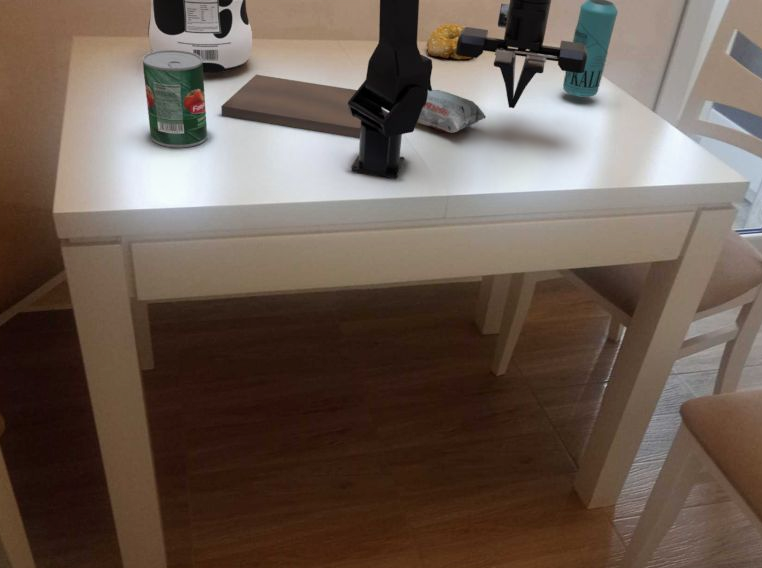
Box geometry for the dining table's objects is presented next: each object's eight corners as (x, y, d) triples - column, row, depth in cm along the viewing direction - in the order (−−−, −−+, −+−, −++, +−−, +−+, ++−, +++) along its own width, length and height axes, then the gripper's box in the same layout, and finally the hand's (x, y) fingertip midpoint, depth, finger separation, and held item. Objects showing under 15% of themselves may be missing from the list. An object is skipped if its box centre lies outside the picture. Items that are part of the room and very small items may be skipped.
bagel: (413, 50, 154) (416, 25, 151) (451, 43, 160) (454, 19, 157) (449, 64, 148) (452, 39, 145) (487, 56, 155) (491, 32, 152)
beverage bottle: (573, 90, 143) (600, -27, 131) (603, 101, 139) (633, -18, 127) (552, 96, 139) (578, -24, 127) (582, 108, 135) (612, -15, 123)
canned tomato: (146, 128, 112) (137, 50, 105) (201, 124, 115) (196, 48, 108) (155, 150, 106) (147, 69, 100) (213, 145, 109) (208, 67, 102)
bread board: (361, 138, 116) (362, 128, 115) (221, 115, 118) (221, 106, 117) (383, 103, 129) (383, 94, 128) (256, 83, 131) (256, 74, 130)
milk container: (205, 43, 145) (199, -64, 134) (273, 67, 138) (272, -44, 127) (130, 61, 134) (116, -54, 123) (199, 88, 126) (191, -31, 115)
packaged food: (456, 144, 117) (461, 112, 114) (393, 122, 122) (396, 91, 119) (484, 130, 123) (490, 99, 120) (423, 109, 128) (427, 80, 125)
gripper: (596, -5, 114) (572, 99, 124) (471, -22, 116) (458, 81, 126) (597, 13, 106) (572, 123, 115) (463, -6, 107) (448, 104, 117)
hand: (511, 107), depth 118 cm, fingers closed
